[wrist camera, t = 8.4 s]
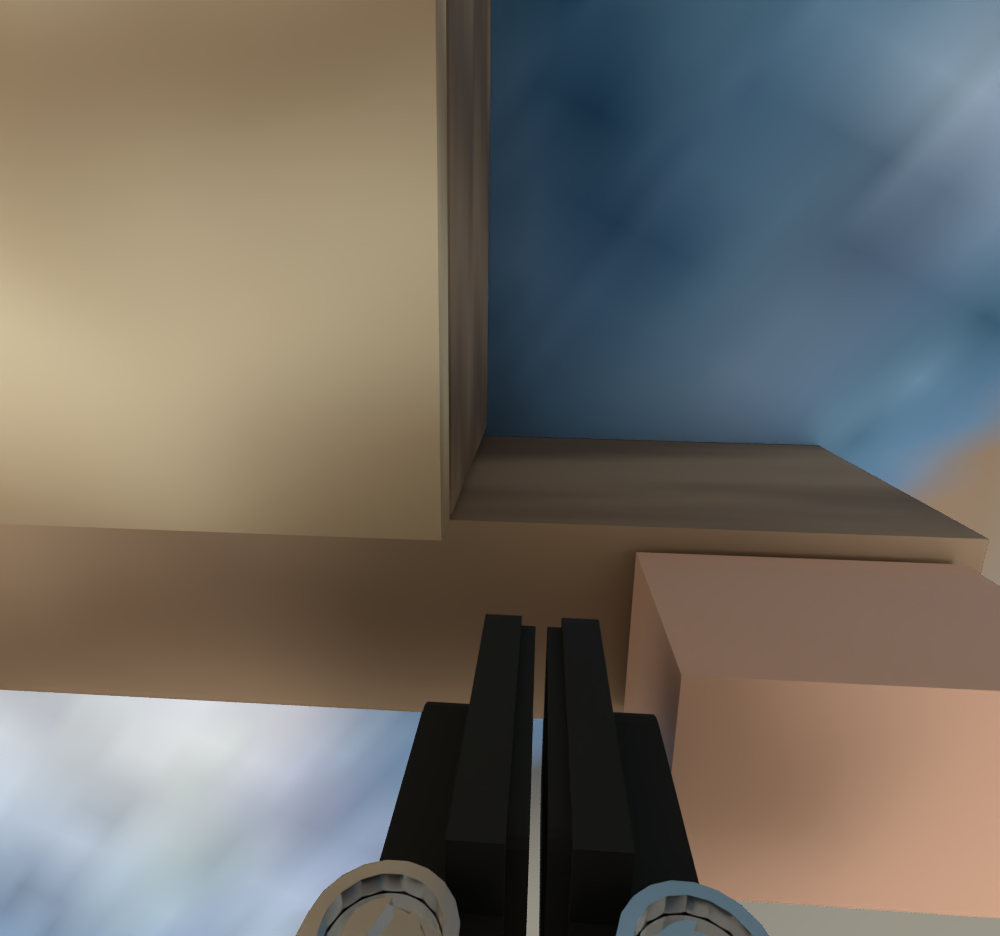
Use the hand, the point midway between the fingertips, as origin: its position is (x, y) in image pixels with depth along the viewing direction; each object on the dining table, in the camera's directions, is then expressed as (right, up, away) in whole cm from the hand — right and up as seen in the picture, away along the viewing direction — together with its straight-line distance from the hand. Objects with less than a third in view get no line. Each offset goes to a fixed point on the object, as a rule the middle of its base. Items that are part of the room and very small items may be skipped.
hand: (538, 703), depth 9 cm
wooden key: (+5, 0, +3) cm, 6 cm away
